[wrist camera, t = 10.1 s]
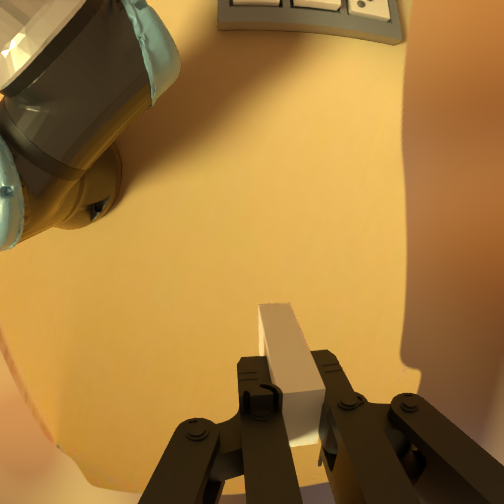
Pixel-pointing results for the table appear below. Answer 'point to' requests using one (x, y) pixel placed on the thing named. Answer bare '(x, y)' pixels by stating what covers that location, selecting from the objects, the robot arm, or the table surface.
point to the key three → (369, 9)
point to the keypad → (310, 21)
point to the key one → (257, 3)
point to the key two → (319, 4)
